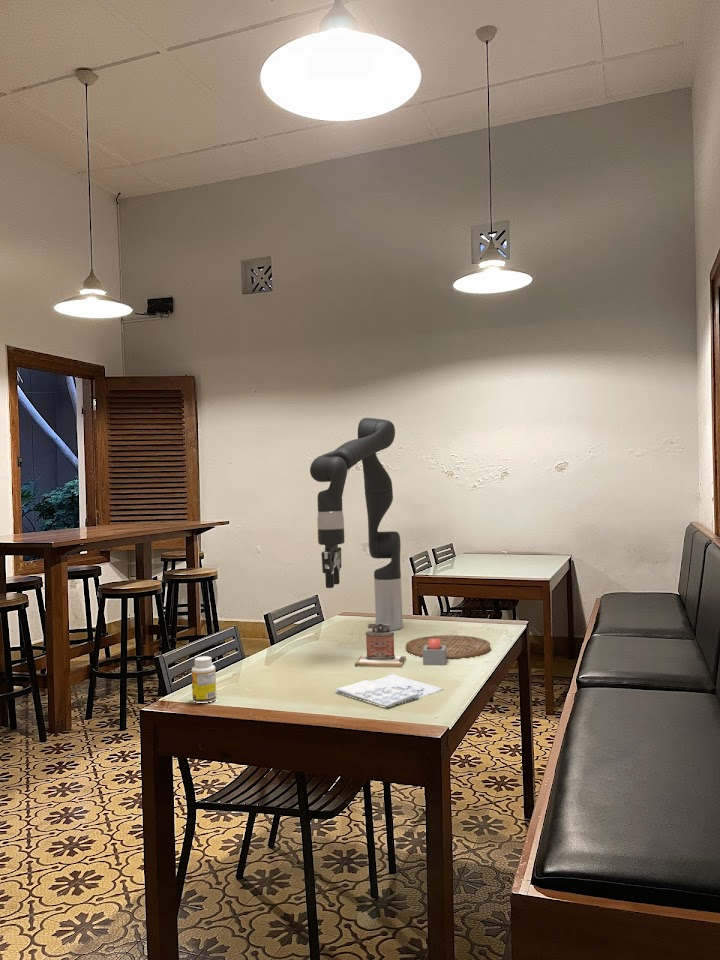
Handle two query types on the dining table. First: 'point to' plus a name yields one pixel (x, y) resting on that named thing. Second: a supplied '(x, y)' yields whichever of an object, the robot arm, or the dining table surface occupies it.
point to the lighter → (380, 642)
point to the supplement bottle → (203, 680)
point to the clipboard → (381, 662)
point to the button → (434, 643)
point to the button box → (434, 655)
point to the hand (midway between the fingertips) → (332, 585)
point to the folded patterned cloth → (388, 690)
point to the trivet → (452, 646)
